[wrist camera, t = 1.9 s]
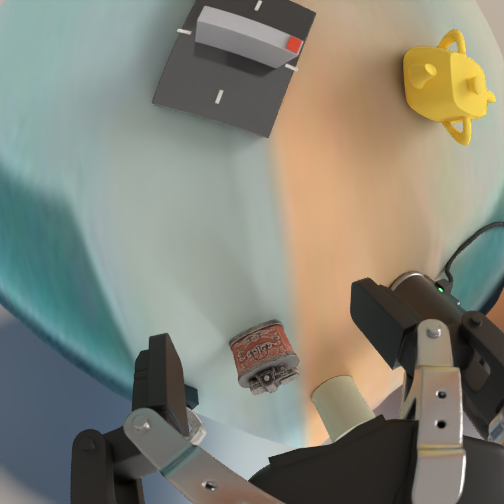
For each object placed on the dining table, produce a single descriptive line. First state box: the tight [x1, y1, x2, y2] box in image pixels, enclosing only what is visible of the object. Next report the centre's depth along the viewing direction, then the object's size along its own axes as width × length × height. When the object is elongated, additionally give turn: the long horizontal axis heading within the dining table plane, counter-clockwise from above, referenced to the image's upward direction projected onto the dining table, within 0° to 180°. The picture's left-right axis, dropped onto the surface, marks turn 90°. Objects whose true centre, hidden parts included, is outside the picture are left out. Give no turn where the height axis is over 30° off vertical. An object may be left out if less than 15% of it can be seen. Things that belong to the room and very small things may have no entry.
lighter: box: [230, 320, 300, 396], centre depth 36 cm, size 8×3×10 cm, turn 113°
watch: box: [184, 384, 207, 445], centre depth 37 cm, size 6×8×11 cm
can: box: [312, 375, 376, 443], centre depth 45 cm, size 9×9×12 cm
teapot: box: [403, 29, 495, 145], centre depth 25 cm, size 14×13×10 cm
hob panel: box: [152, 0, 316, 138], centre depth 24 cm, size 16×13×3 cm
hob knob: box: [195, 6, 304, 69], centre depth 20 cm, size 8×2×6 cm, turn 70°
